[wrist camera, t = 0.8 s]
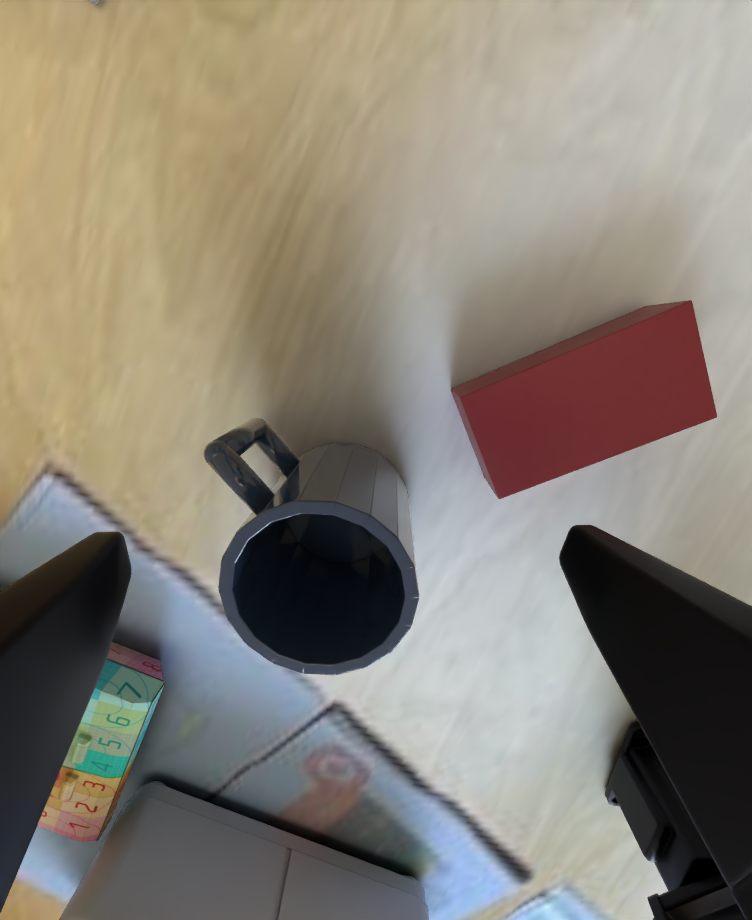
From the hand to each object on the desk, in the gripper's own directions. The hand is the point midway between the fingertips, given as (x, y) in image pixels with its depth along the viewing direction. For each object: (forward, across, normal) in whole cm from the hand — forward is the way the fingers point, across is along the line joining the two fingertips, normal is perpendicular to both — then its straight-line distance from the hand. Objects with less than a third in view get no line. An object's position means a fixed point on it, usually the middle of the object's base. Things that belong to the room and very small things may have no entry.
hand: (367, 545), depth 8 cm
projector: (+6, +4, +39) cm, 40 cm away
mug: (+12, 0, +6) cm, 14 cm away
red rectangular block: (+11, -11, +1) cm, 16 cm away
